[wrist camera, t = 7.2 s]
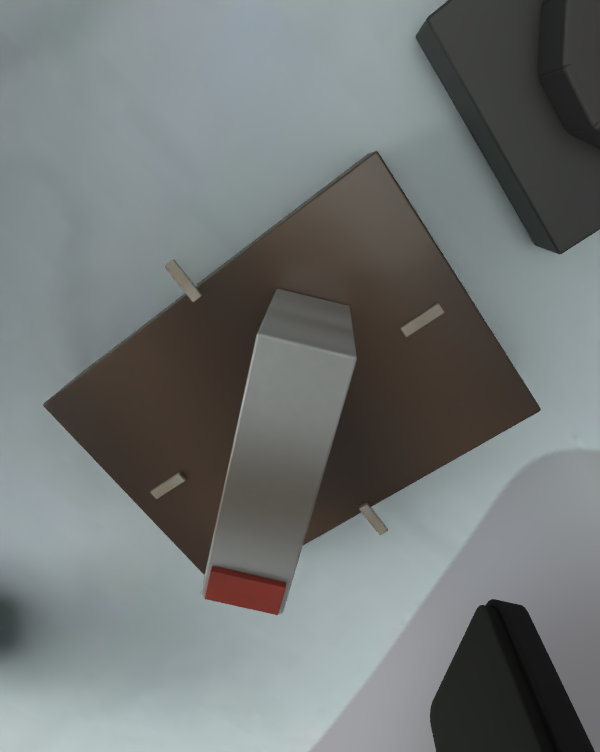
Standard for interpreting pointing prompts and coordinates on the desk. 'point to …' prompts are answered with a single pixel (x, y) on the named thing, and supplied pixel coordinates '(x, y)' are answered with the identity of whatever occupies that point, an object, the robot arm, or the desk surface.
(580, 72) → the button block
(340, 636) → the desk surface
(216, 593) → the spout
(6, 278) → the desk surface
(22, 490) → the desk surface
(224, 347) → the base
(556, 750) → the robot arm
